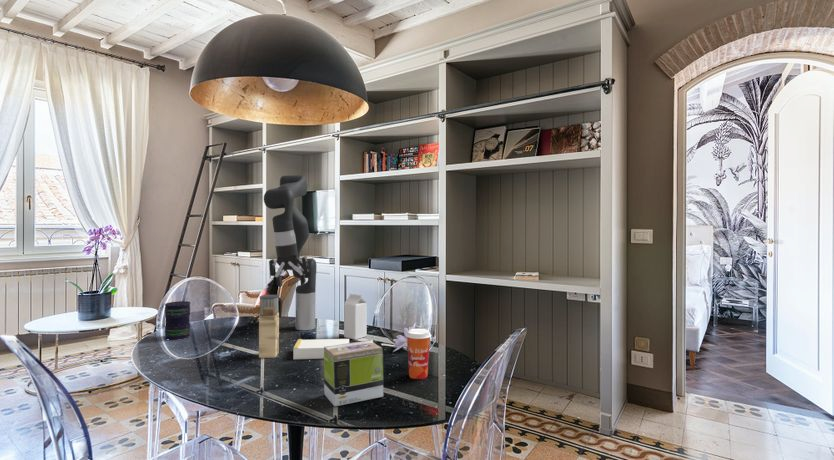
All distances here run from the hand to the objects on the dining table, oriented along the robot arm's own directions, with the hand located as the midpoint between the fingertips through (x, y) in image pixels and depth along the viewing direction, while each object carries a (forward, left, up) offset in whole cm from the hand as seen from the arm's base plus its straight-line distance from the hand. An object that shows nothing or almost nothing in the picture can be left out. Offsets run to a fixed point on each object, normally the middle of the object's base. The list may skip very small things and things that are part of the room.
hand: (291, 285), depth 165 cm
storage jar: (-33, -54, -27) cm, 69 cm away
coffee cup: (+25, +45, -27) cm, 58 cm away
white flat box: (-3, +11, -27) cm, 29 cm away
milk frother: (-53, -22, -27) cm, 64 cm away
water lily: (-7, +43, -27) cm, 52 cm away
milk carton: (-27, +23, -27) cm, 45 cm away
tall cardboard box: (-3, -9, -27) cm, 29 cm away
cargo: (-3, -9, -13) cm, 16 cm away
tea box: (+40, +24, -27) cm, 54 cm away
